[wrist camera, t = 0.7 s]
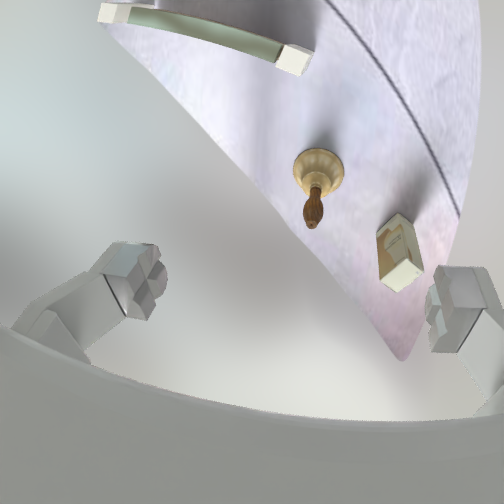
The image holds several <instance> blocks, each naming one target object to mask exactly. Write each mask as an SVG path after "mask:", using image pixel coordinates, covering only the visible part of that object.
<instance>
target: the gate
mask: <svg viewBox="0 0 504 504" xmlns="http://www.w3.org/2000/svg"><path fill="white" fill-rule="evenodd" d="M127 23H128V24H134V25H140V26H146V27H151V28H156V29H161V30H165V31H170V32H174V33H178V34H183V35H187V36H191V37H194V38H198V39H202V40H205V41H209V42H212V43H216V44H219V45H222V46H226V47H229V48H232V49H235V50H238V51H241V52H244V53H247V54H250V55H253V56H255V57H258V58H261V59H264V60H266V61H269V62H272V63H275V62H276V60H279V57H280V55H281V53H282V50H283V48H284V46H285V45H286V44H284V43H281V42H279V41H276V40H273V39H270V38H268V37H265V36H262V35H259V34H256V33H253V32H250V31H247V30H244V29H240V28H237V27H234V26H230V25H227V24H223V23H220V22H216V21H212V20H208V19H204V18H200V17H196V16H192V15H187V14H182V13H178V12H173V11H167V10H162V9H149V8H142V7H131V10H130V14H129V17H128V21H127Z"/></svg>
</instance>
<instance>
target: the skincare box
mask: <svg viewBox="0 0 504 504" xmlns="http://www.w3.org/2000/svg"><path fill="white" fill-rule="evenodd" d="M376 240H377V251H378V263H379V277H380V282H382V283H383V284H384V285H386V286H387V287H388V288H390V289H391V290H392V291H394V292H395V293H398V292H399V291H401V290H402V289H403V288H405V287H406V286H408V285H409V284H411V283H412V282H413V281H414V280H415V279H417V278H418V277H419V276H420V275H422V274H423V273H424V267H423V263H422V258H421V254H420V250H419V245H418V241H417V237H416V233H415V229H414V226H413V224H411V223H410V222H409V221H408V220H407V219H406V218H405V217H403V216H402V215H401V214H399V213H397V214H396V215H395V216H393V217H392V218H391V219H390V220H389V221H388V222H387V223H386V224H385V225H384V226H383V227H382V228H381V229H380V230H379V231H378V232H377V233H376Z"/></svg>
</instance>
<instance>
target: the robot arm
mask: <svg viewBox="0 0 504 504" xmlns="http://www.w3.org/2000/svg"><path fill="white" fill-rule="evenodd" d="M160 257H161V253H160V251H159V248H158V246H156V245H154V244H146V243H136V242H123V241H116V242H114V243H112V244H111V245H110V247H109V248H108V249H107V250H106V251H105V252H104V253H103V254H102V256H101V257H100V258H99V259H98V260H97V262H96V263H95V264H94V265H93V266H92V267H91V269H90V270H89V271H88V272H83V273H81V274H79V275H78V276H76V277H74V278H72V279H70V280H68V281H67V282H65V283H63V284H61V285H60V286H58V287H56V288H54V289H53V290H51V291H49V292H48V293H46V294H44V295H42V296H41V297H39V298H37V299H36V300H34V301H32V302H31V303H30V304H29V305H28V306H27V308H26V309H25V310H24V311H23V313H22V314H21V315H20V317H19V318H18V319H17V321H16V322H15V323H14V325H13V326H12V327H11V329H10V328H8V327H6V326H4V325H2V324H0V504H504V309H503V308H502V305H501V303H500V300H499V298H498V295H497V293H496V290H495V288H494V285H493V283H492V280H491V278H490V276H489V273H488V271H487V270H486V269H485V268H484V267H460V266H446V265H438V267H437V268H436V270H435V273H434V276H433V277H434V281H435V284H433V285H432V286H431V287H430V288H429V290H428V293H427V296H426V301H425V317H426V321H427V322H428V323H429V324H430V325H431V328H430V330H429V332H428V335H429V342H430V349H431V352H437V353H457V354H456V355H457V356H458V357H459V359H460V360H461V362H462V363H463V365H464V366H465V368H466V369H467V371H468V372H469V374H470V375H471V377H472V378H473V380H474V382H475V383H476V385H477V386H478V388H479V390H480V391H481V393H482V394H483V396H484V398H485V399H486V401H487V402H486V403H485V404H484V405H483V406H482V407H481V408H480V409H479V410H478V411H477V412H476V413H475V414H474V415H473V418H463V419H451V420H435V421H408V422H407V421H402V422H401V421H398V422H397V421H393V422H392V421H389V422H388V421H358V420H341V419H328V418H317V417H307V416H299V415H291V414H283V413H276V412H269V411H263V410H256V409H251V408H246V407H240V406H235V405H230V404H224V403H220V402H215V401H211V400H206V399H202V398H198V397H194V396H190V395H186V394H181V393H178V392H174V391H170V390H167V389H163V388H160V387H156V386H153V385H149V384H146V383H143V382H139V381H136V380H133V379H130V378H127V377H124V376H121V375H118V374H115V373H112V372H109V371H107V370H104V369H101V368H98V367H96V366H93V365H91V360H90V358H89V357H88V356H87V354H86V353H85V352H84V350H86V349H87V348H88V347H89V346H91V345H92V344H93V343H95V342H96V341H97V340H98V339H100V338H101V337H102V336H103V335H104V334H106V333H107V332H108V331H110V330H111V329H112V328H113V327H115V326H116V325H117V324H119V323H120V322H121V321H122V320H124V319H125V317H129V318H134V319H140V320H146V321H147V320H148V318H149V316H150V315H151V313H152V311H153V309H154V308H155V306H156V303H155V299H156V298H158V297H160V296H161V295H162V294H163V292H164V290H165V289H166V285H167V280H168V278H167V271H166V268H165V266H164V265H163V264H162V263H161V262H160V261H159V259H160Z"/></svg>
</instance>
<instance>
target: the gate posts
mask: <svg viewBox="0 0 504 504" xmlns="http://www.w3.org/2000/svg"><path fill="white" fill-rule="evenodd" d="M154 6H155V5H150V4H143V3H101V7H100V11H99V15H98V19H97V22H105V23H112V24H113V23H124V22H127V21H128V17H129V14H130V10H131V7H142V8H149V9H154ZM314 53H315V52H313V51H311V50H308V49H306V48H303V47H301V46H299V45H296V44H289V45H285V46H284V48H283V50H282V53H281V55H280V57H279V60H278V62H277V64H276V67H277V68H279V69H282V70H284V71H287V72H289V73H292V74H294V75H296V76H299V77H300V76H301V75H302V74H303V73H304V72H305V71H306V70H307V68H308V65H309V63H310V61H311V59H312V57H313V55H314Z"/></svg>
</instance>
